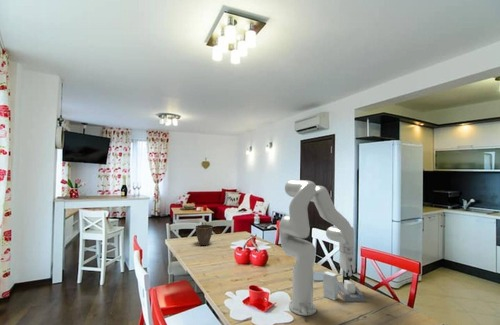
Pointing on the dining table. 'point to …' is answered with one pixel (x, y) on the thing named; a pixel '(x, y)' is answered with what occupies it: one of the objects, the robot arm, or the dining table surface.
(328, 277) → the skincare box
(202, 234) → the plant pot
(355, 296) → the switch panel
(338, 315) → the dining table surface
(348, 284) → the switch tab
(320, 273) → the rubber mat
